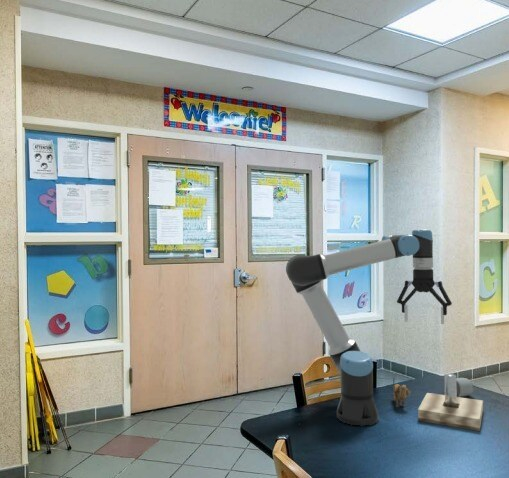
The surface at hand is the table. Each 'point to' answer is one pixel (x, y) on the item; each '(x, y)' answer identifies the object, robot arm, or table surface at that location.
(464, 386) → the ceramic mug
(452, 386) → the metal peg
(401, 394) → the lion figurine
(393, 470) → the table surface
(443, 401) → the maple block
